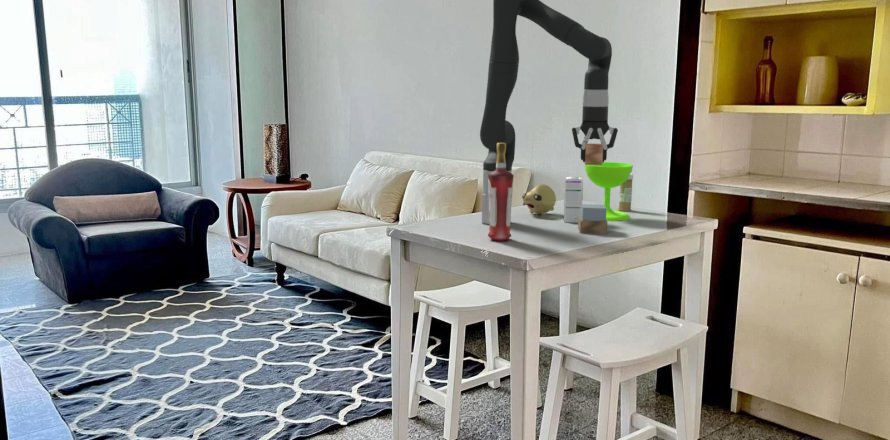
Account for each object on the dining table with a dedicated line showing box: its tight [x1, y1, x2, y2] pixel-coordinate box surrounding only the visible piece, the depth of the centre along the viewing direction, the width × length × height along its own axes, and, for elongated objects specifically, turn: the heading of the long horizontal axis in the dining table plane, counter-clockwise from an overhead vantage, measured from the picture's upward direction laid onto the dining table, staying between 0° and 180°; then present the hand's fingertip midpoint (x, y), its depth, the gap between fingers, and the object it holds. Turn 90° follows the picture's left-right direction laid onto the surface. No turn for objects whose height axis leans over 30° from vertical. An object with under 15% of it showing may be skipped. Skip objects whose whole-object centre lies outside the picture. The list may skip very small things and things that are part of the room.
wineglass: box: [584, 161, 634, 222], centre depth 249 cm, size 16×16×18 cm
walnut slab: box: [577, 216, 608, 235], centre depth 226 cm, size 8×8×4 cm
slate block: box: [581, 203, 606, 221], centre depth 225 cm, size 7×7×4 cm
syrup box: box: [563, 176, 584, 224], centre depth 241 cm, size 6×6×14 cm
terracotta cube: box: [583, 143, 603, 166], centre depth 221 cm, size 5×5×6 cm
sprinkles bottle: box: [617, 173, 634, 212], centre depth 262 cm, size 5×5×14 cm
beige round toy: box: [521, 183, 557, 217], centre depth 253 cm, size 10×12×11 cm
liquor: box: [487, 143, 515, 242], centre depth 210 cm, size 7×7×28 cm
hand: (593, 161), depth 221 cm, fingers closed on terracotta cube, 5 cm apart
